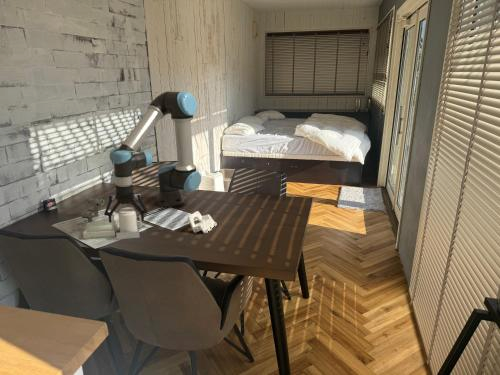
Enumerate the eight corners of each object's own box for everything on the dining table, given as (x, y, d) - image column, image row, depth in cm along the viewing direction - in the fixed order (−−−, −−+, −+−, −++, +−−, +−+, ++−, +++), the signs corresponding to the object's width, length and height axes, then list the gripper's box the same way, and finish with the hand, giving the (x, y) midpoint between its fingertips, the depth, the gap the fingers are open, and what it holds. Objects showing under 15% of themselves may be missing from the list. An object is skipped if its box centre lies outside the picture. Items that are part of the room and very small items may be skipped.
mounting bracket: (208, 227, 178) (200, 208, 177) (218, 225, 175) (210, 205, 174) (195, 237, 168) (187, 216, 167) (206, 234, 165) (197, 213, 164)
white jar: (128, 238, 162) (125, 214, 158) (116, 234, 166) (114, 210, 162) (141, 232, 168) (139, 209, 164) (130, 228, 172) (128, 205, 169)
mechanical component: (103, 217, 184) (101, 200, 181) (86, 216, 186) (84, 198, 183) (107, 215, 187) (105, 198, 184) (90, 214, 189) (87, 197, 186)
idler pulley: (99, 221, 179) (97, 208, 177) (96, 227, 173) (95, 213, 171) (84, 222, 178) (82, 209, 176) (81, 228, 171) (79, 215, 169)
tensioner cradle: (141, 227, 174) (140, 221, 173) (139, 237, 162) (138, 231, 162) (120, 228, 171) (119, 223, 170) (116, 239, 160) (116, 233, 159)
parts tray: (118, 225, 176) (118, 219, 175) (115, 236, 163) (114, 230, 162) (89, 227, 172) (89, 222, 172) (83, 239, 160) (83, 233, 159)
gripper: (151, 181, 166) (153, 223, 172) (97, 182, 160) (101, 226, 166) (151, 185, 159) (153, 229, 165) (94, 187, 153) (98, 232, 159)
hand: (127, 227), depth 166 cm, fingers open, 12 cm apart
